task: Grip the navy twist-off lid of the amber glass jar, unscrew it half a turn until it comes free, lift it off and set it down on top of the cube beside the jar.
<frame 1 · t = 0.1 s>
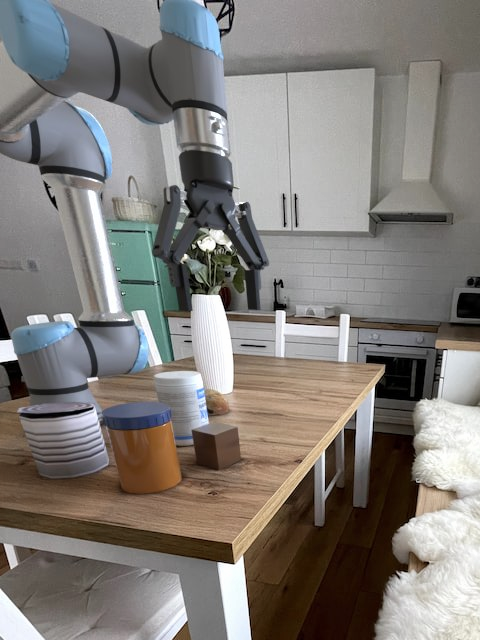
hand: (222, 310, 68), 28 cm above the table, tool pointing down, fingers open, 13 cm apart
bread roll: (211, 412, 111), on the table
cube: (219, 461, 79), on the table
supplement tub: (188, 440, 90), on the table
jar: (152, 481, 70), on the table
lid: (137, 411, 64), point 13 cm above the table, screwed on, not yet turned
can: (76, 467, 75), on the table
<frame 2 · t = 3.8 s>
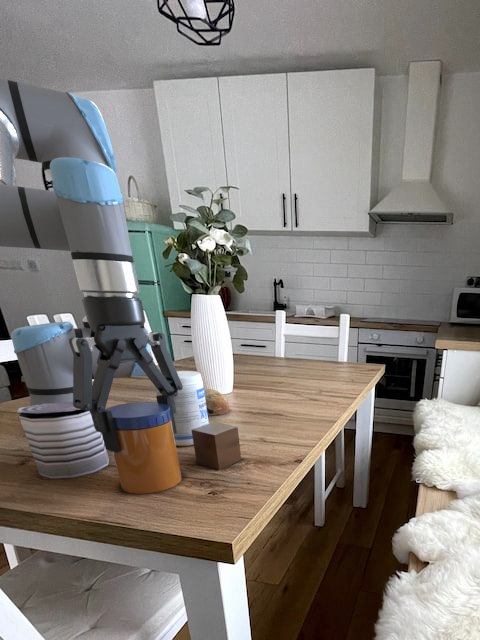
hand: (143, 440, 66), 8 cm above the table, tool pointing down, fingers closed on lid, 10 cm apart
lid: (137, 411, 64), point 13 cm above the table, screwed on, not yet turned, touching gripper
everything else where it was.
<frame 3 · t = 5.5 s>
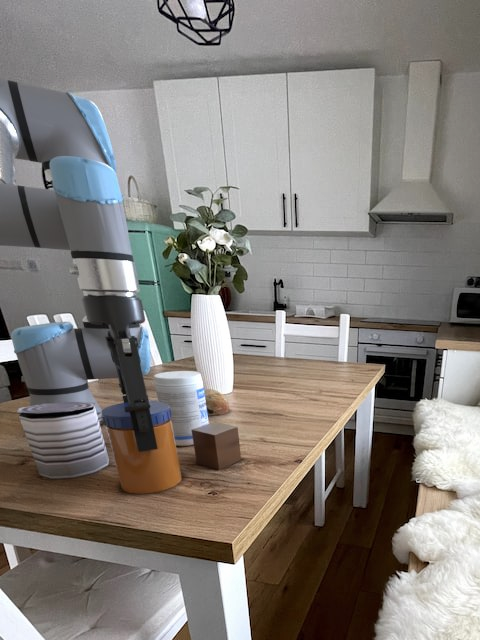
hand: (143, 440, 66), 8 cm above the table, tool pointing down, fingers closed on lid, 10 cm apart
lid: (136, 410, 64), point 13 cm above the table, turned 61° so far, risen 0.2 cm, still on its thread, touching gripper
everything else where it was.
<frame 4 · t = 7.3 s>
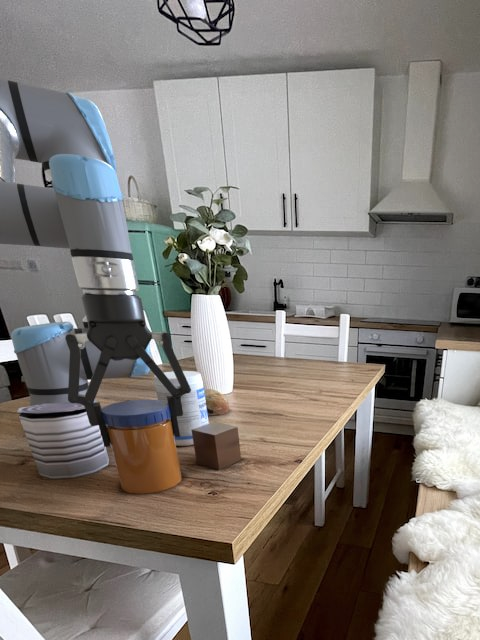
hand: (143, 439, 66), 8 cm above the table, tool pointing down, fingers closed on lid, 10 cm apart
lid: (136, 409, 64), point 13 cm above the table, off its thread, touching gripper
everything else where it was.
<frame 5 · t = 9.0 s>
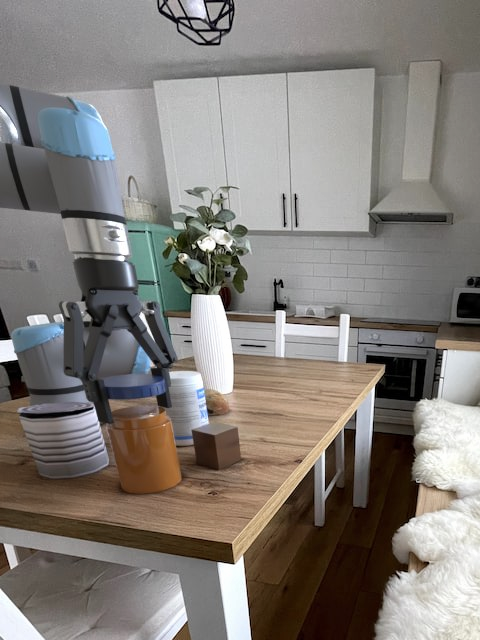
hand: (137, 413, 65), 12 cm above the table, tool pointing down, fingers closed on lid, 10 cm apart
lid: (130, 382, 62), point 17 cm above the table, off its thread, touching gripper
everything else where it was.
when the fingers open (5 cm above the table, at t = 24.3 s): lid drops 3 cm, resting on cube.
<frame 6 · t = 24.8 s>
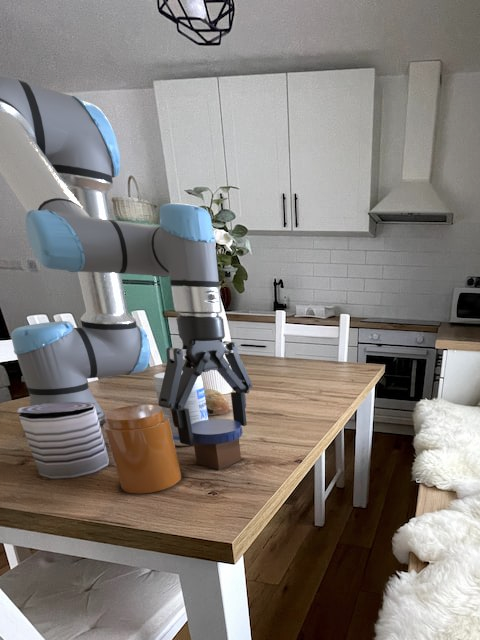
hand: (215, 433, 76), 6 cm above the table, tool pointing down, fingers open, 13 cm apart
jar: (152, 480, 70), on the table, touching gripper
lid: (214, 428, 76), point 7 cm above the table, off its thread, touching cube
everything else where it was.
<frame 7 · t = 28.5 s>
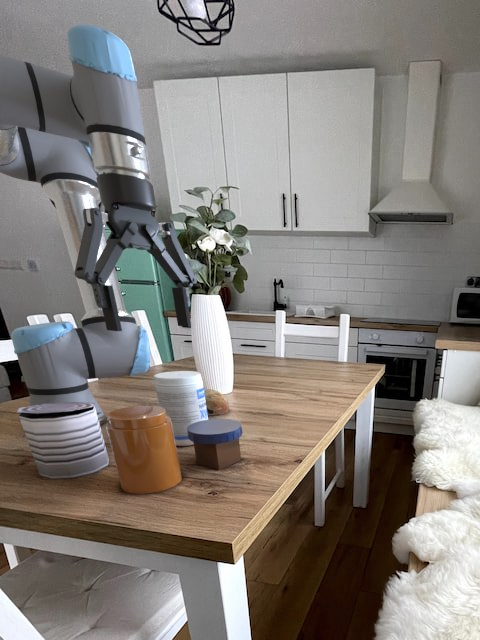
hand: (152, 328, 68), 25 cm above the table, tool pointing down, fingers open, 13 cm apart
jar: (152, 481, 70), on the table
everything else where it was.
at the end: lid came off its thread; lid 0.0 cm off-centre on the cube, point 7.0 cm above the cube's base; the gripper is holding nothing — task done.
